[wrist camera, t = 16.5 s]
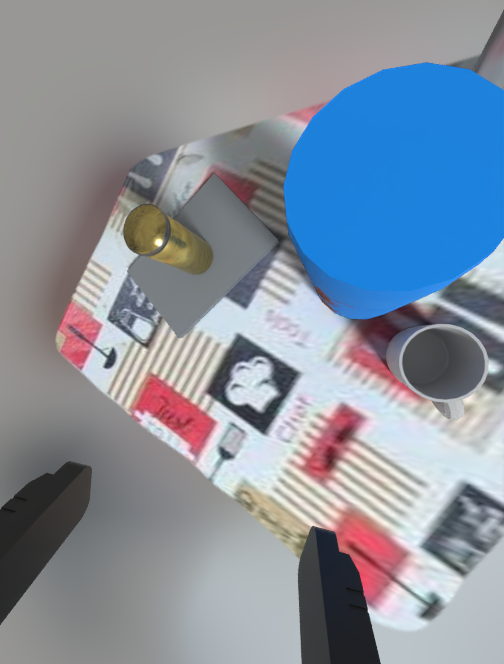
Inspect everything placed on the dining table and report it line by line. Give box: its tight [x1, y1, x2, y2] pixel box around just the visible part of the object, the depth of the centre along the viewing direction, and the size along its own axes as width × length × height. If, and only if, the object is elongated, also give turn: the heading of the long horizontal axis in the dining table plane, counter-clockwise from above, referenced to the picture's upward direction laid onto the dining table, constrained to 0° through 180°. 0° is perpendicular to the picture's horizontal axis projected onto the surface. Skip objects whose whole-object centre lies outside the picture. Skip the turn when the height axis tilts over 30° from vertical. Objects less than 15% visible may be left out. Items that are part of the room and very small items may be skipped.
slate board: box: [127, 173, 279, 338], centre depth 43 cm, size 20×14×1 cm
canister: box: [124, 204, 213, 275], centre depth 37 cm, size 5×5×12 cm
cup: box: [386, 324, 489, 420], centre depth 31 cm, size 7×10×9 cm
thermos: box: [283, 63, 504, 319], centre depth 25 cm, size 11×11×25 cm
